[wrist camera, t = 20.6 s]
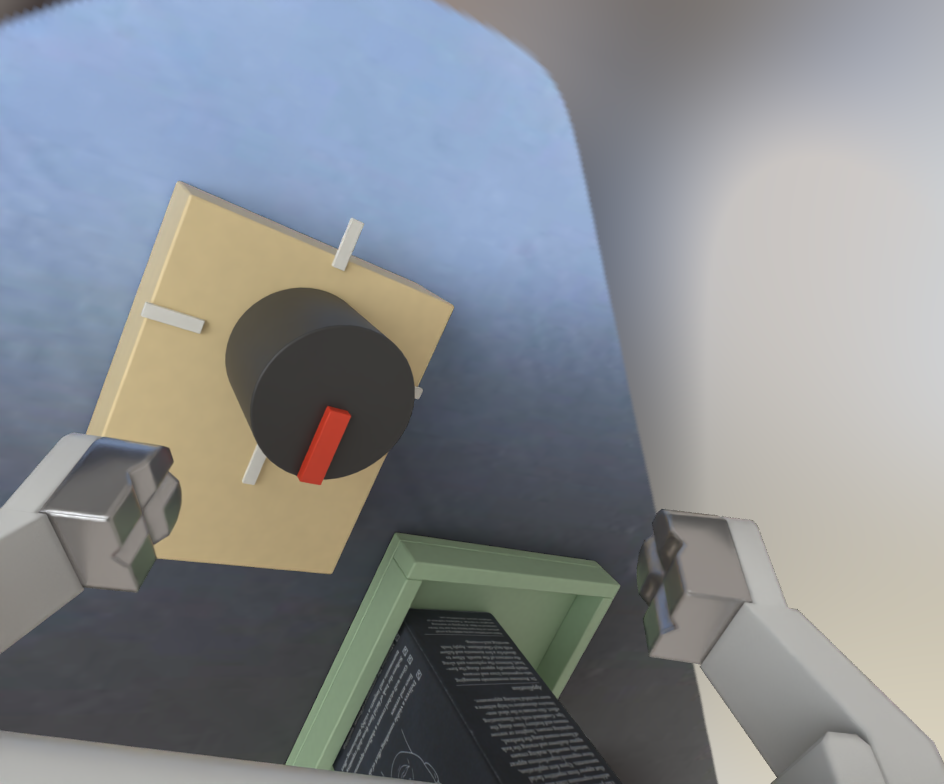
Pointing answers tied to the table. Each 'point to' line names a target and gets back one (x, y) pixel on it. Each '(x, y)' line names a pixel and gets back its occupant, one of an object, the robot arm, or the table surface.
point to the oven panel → (210, 393)
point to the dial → (318, 384)
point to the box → (465, 712)
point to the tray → (461, 589)
